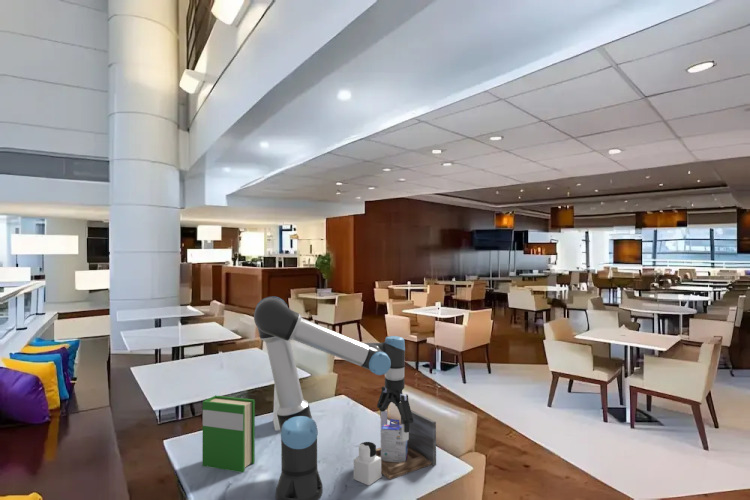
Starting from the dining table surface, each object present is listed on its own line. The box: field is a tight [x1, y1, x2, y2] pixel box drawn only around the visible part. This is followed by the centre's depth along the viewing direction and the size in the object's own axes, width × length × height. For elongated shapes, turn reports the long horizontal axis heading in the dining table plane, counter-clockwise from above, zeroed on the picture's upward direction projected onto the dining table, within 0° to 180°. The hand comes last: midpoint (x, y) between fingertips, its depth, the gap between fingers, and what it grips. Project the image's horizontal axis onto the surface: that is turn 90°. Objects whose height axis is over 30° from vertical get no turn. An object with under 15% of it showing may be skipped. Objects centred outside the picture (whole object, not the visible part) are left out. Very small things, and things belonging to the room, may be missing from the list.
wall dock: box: [376, 409, 437, 480], centre depth 163 cm, size 21×20×16 cm
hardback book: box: [201, 395, 256, 473], centre depth 161 cm, size 18×7×24 cm, turn 73°
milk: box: [272, 385, 280, 431], centre depth 200 cm, size 12×12×26 cm
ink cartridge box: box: [380, 418, 408, 463], centre depth 162 cm, size 10×6×14 cm, turn 79°
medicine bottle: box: [353, 441, 382, 486], centre depth 150 cm, size 7×7×12 cm
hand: (394, 434), depth 162 cm, fingers open, 13 cm apart
